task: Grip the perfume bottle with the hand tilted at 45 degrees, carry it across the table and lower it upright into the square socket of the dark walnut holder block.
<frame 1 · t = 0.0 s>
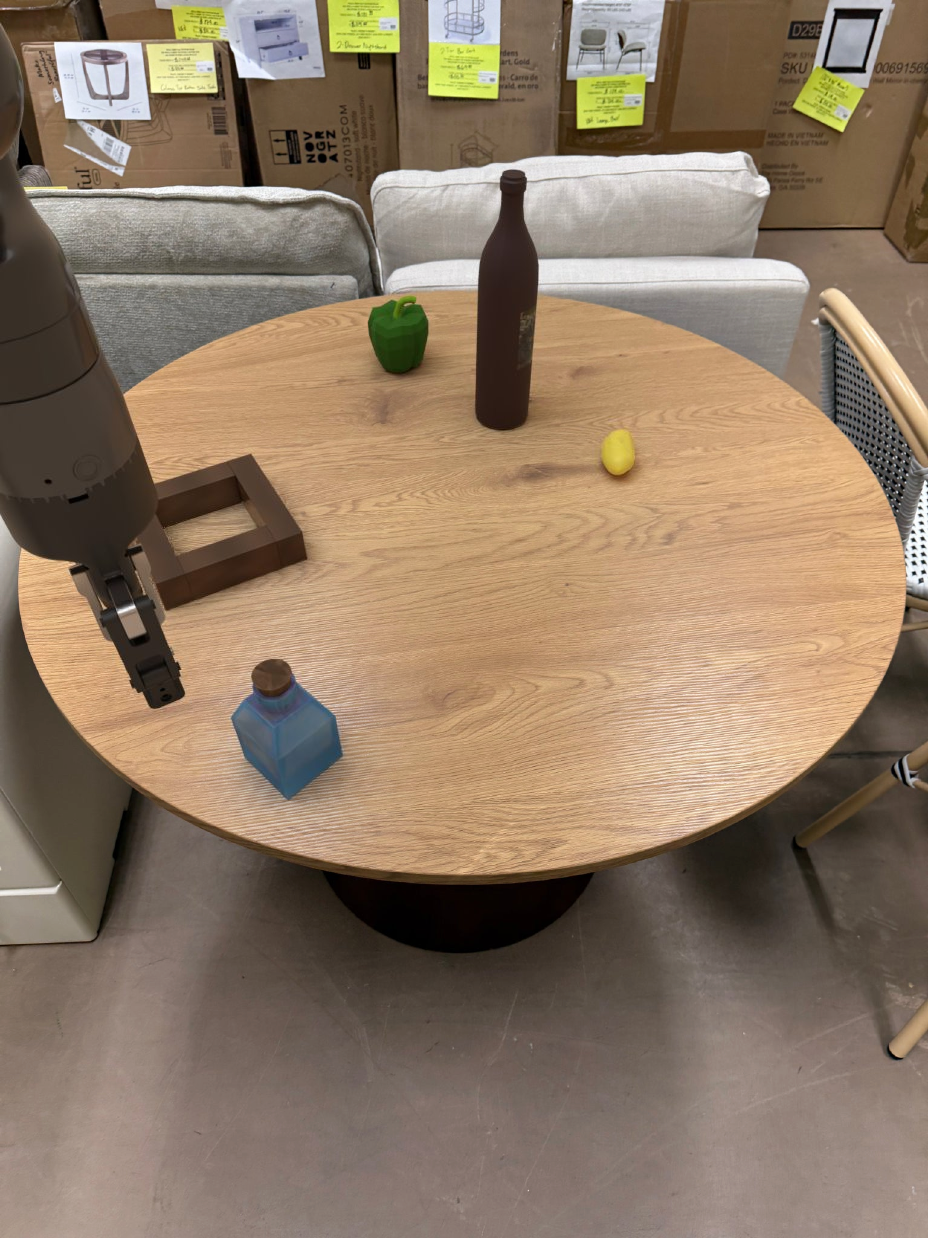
hand: (148, 653, 52), 22 cm above the table, tool pointing down, fingers open, 8 cm apart
holder: (215, 540, 92), on the table
wine bottle: (501, 416, 108), on the table
lemon: (615, 465, 102), on the table
perfume bottle: (294, 757, 73), on the table
bell pepper: (400, 365, 117), on the table
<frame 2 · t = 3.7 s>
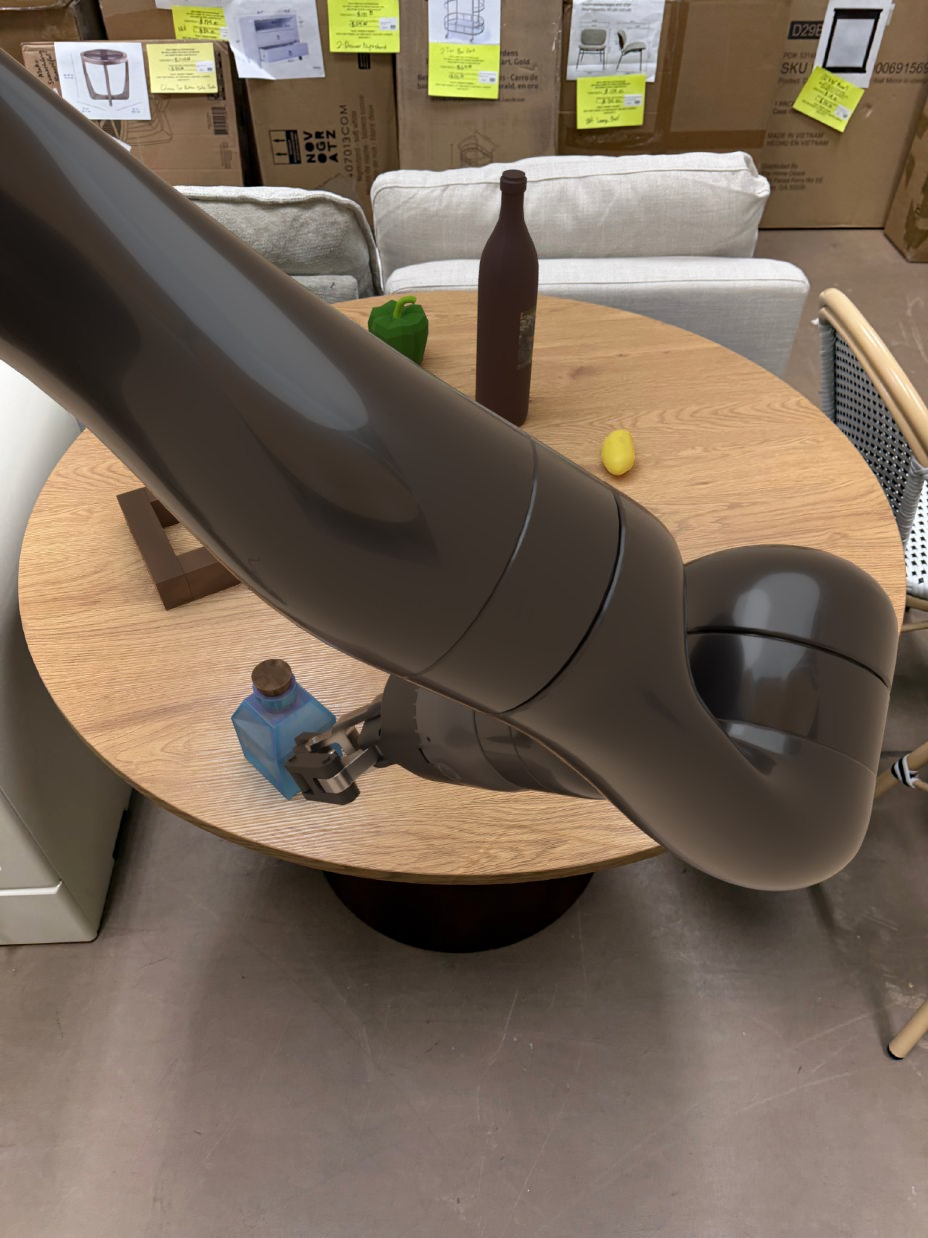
hand: (357, 710, 54), 18 cm above the table, tool tilted 45°, fingers open, 8 cm apart
nothing on the table moved.
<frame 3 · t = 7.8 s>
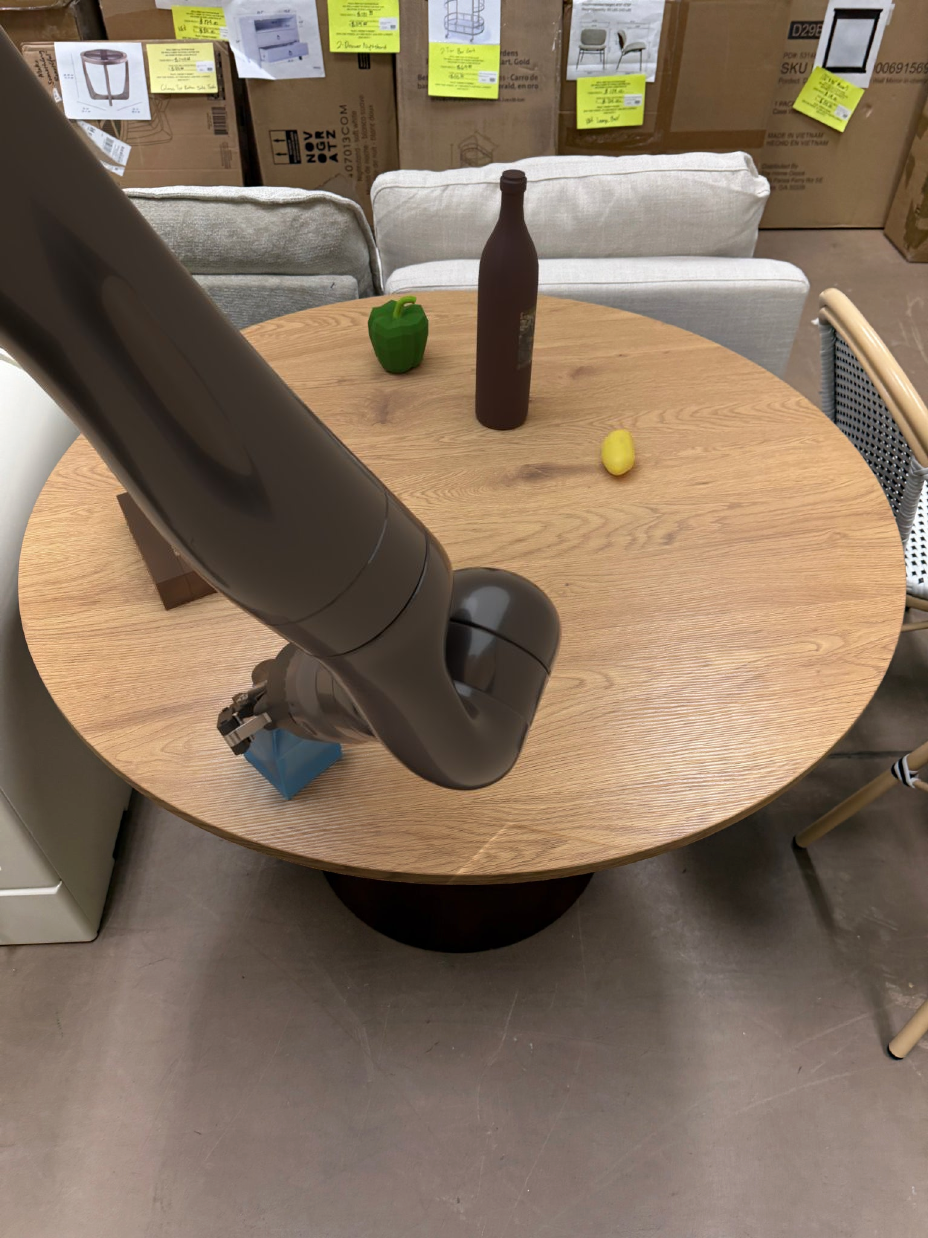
hand: (265, 690, 68), 8 cm above the table, tool tilted 45°, fingers closed on perfume bottle, 4 cm apart
perfume bottle: (294, 758, 73), on the table, touching gripper
everything else where it was.
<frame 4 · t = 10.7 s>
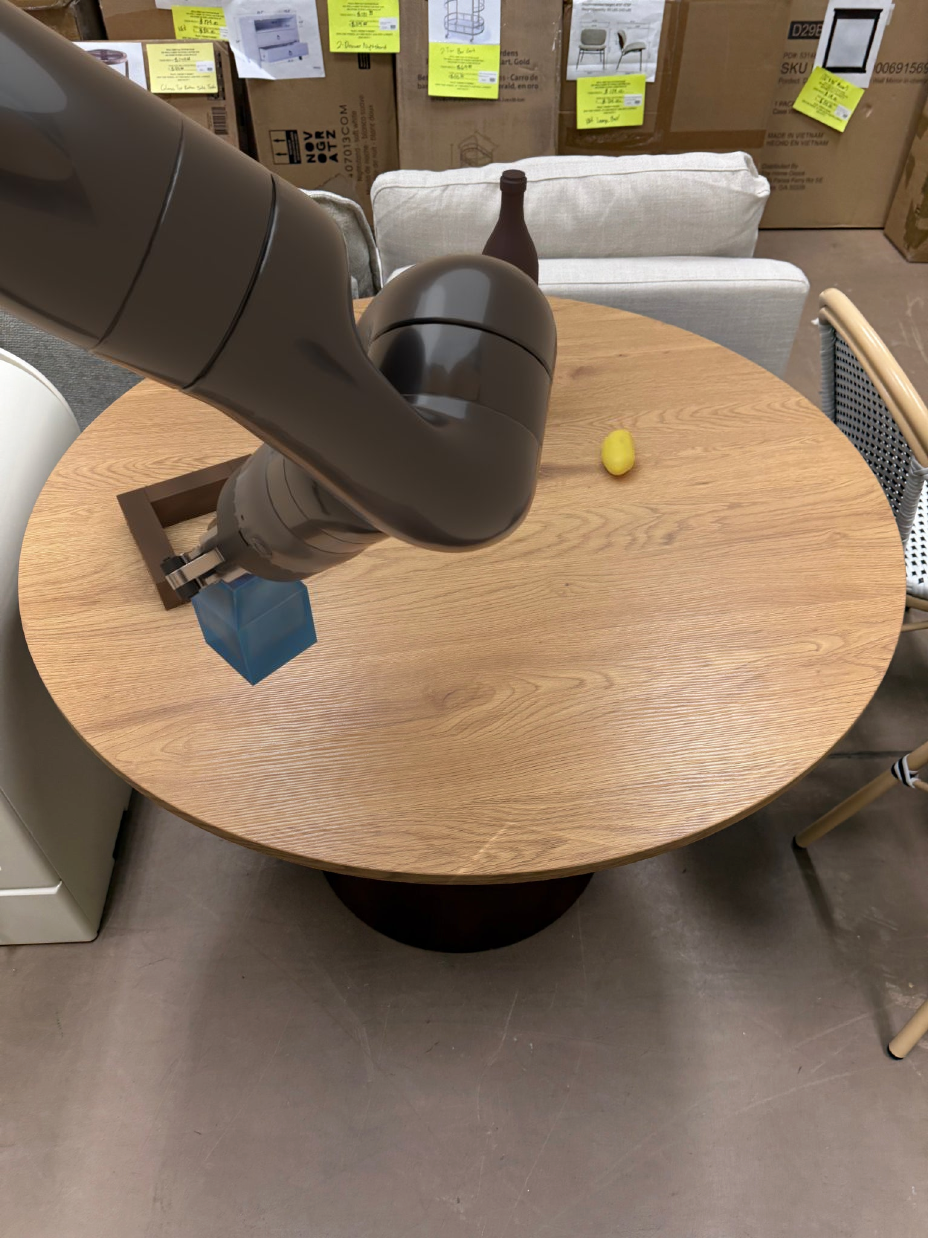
hand: (226, 555, 59), 22 cm above the table, tool tilted 45°, fingers closed on perfume bottle, 4 cm apart
perfume bottle: (262, 643, 64), point 13 cm above the table, touching gripper
everything else where it was.
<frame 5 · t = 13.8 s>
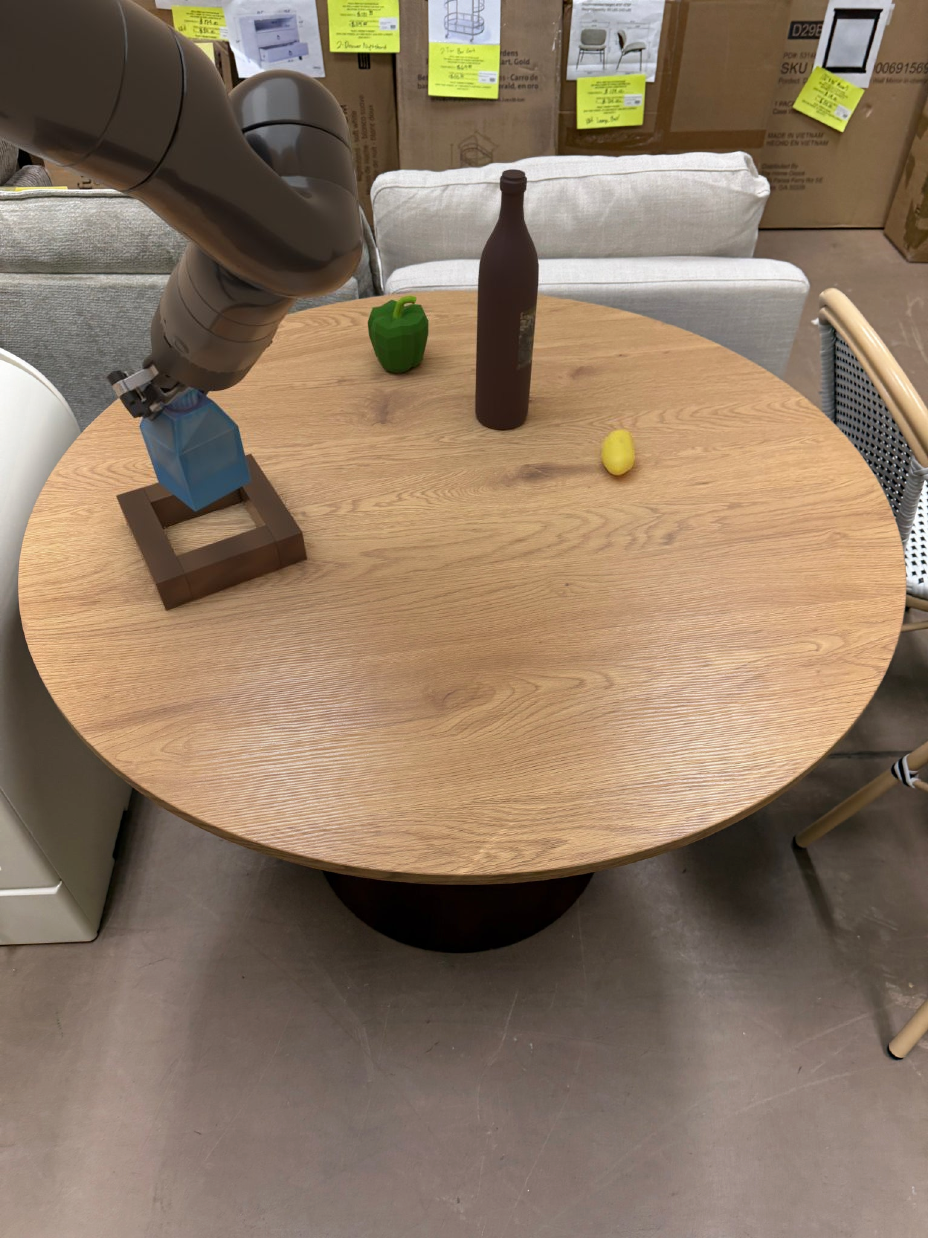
hand: (171, 398, 72), 22 cm above the table, tool tilted 45°, fingers closed on perfume bottle, 4 cm apart
perfume bottle: (205, 483, 77), point 14 cm above the table, touching gripper
everything else where it was.
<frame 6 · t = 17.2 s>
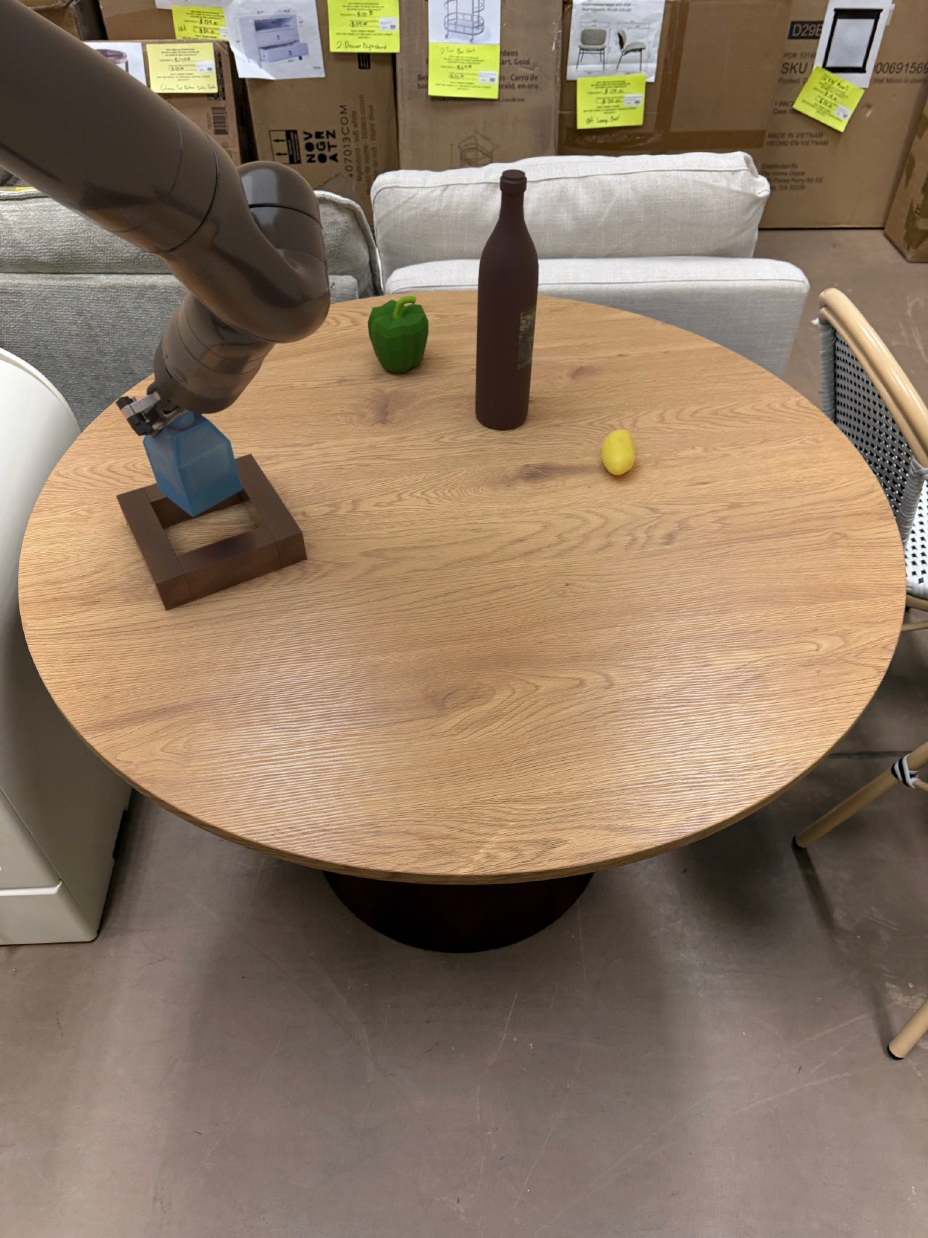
hand: (170, 417, 81), 15 cm above the table, tool tilted 45°, fingers closed on perfume bottle, 4 cm apart
perfume bottle: (201, 491, 86), point 7 cm above the table, touching gripper
everything else where it was.
when the fingers open (8 cm above the table, at t = 20.1 s): perfume bottle stays where it is, resting in holder.
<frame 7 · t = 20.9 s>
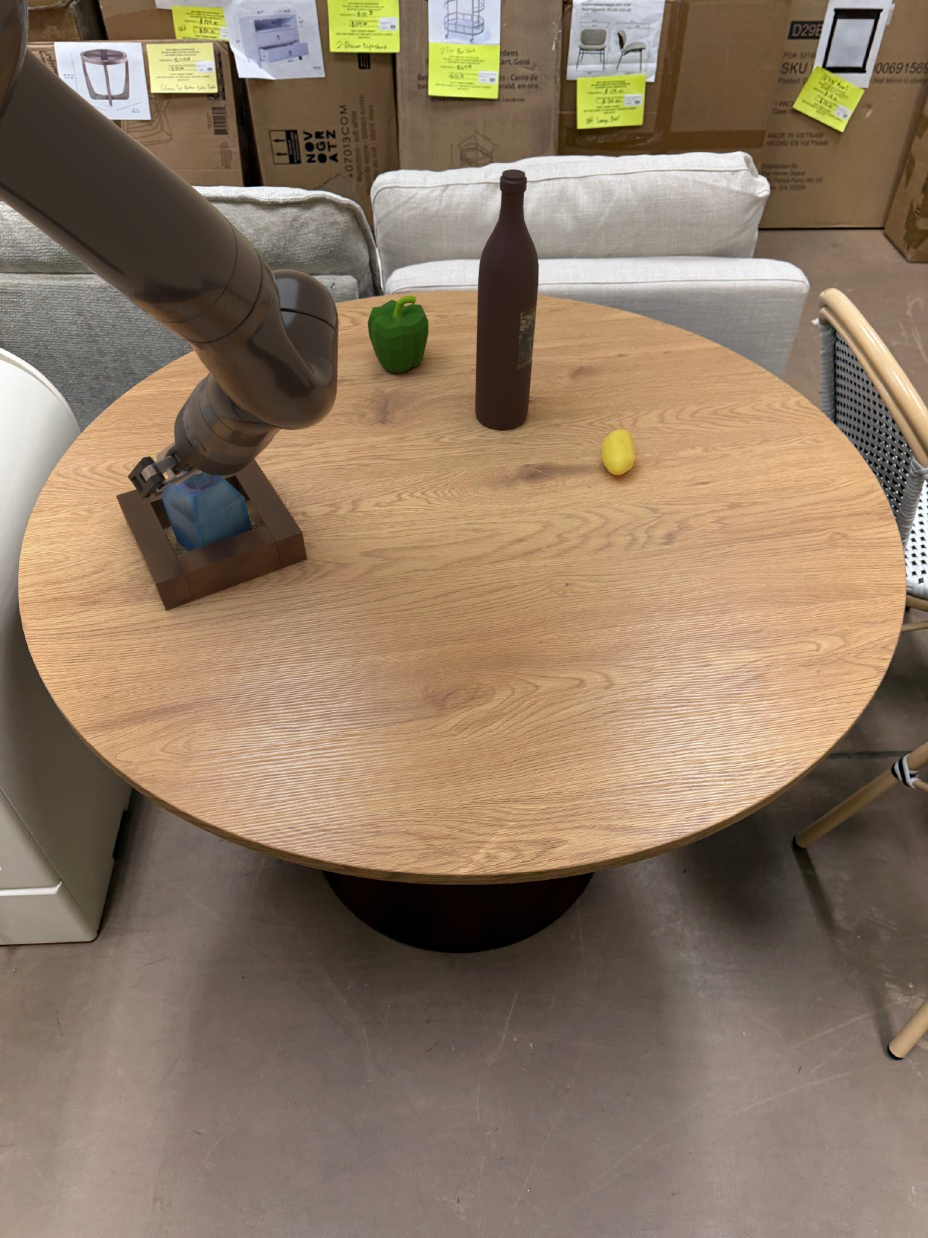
hand: (188, 468, 85), 9 cm above the table, tool tilted 45°, fingers open, 8 cm apart
perfume bottle: (216, 542, 92), resting in holder
everything else where it was.
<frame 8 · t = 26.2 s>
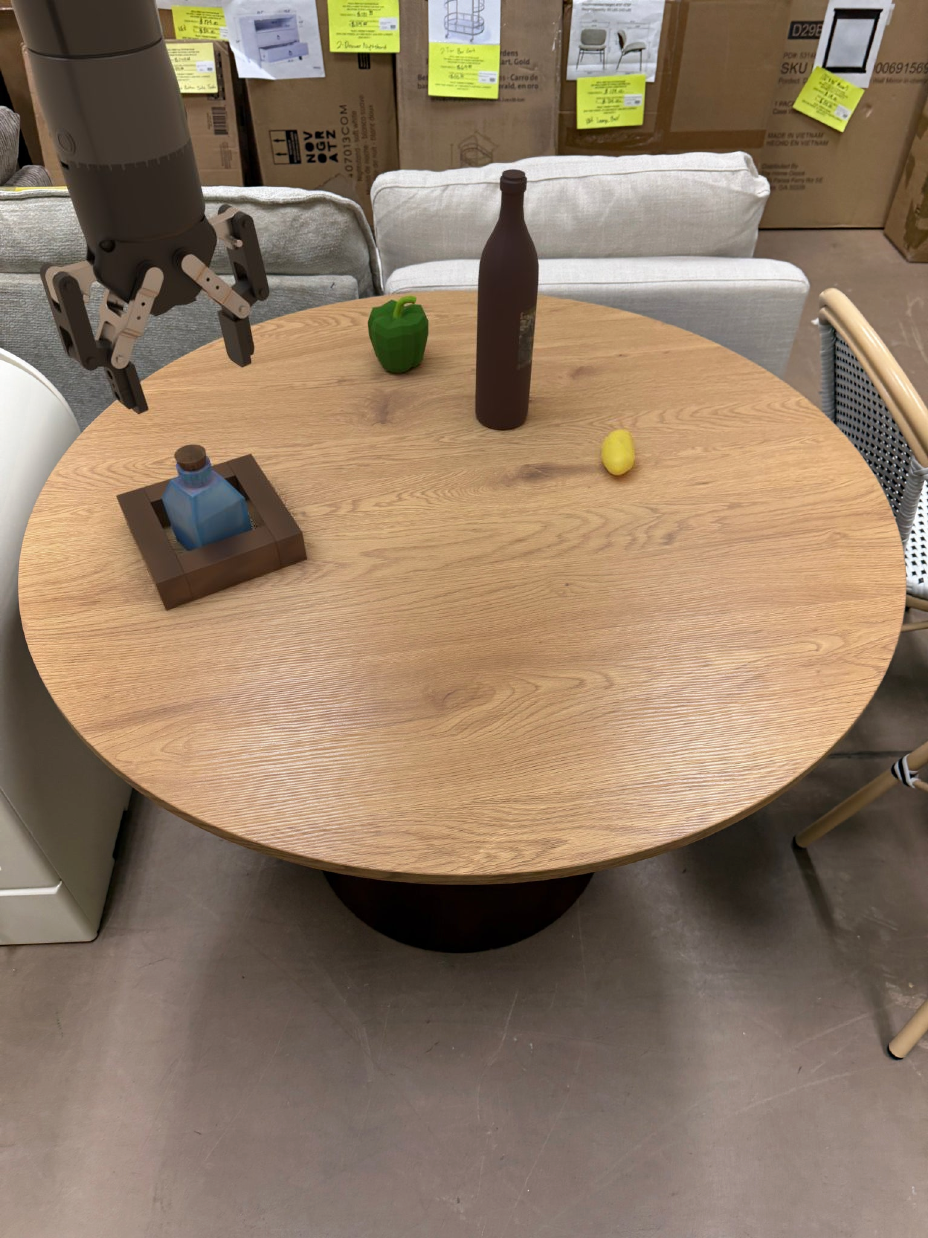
hand: (190, 384, 58), 30 cm above the table, tool pointing down, fingers open, 8 cm apart
nothing on the table moved.
at the end: perfume bottle 0.1 cm off-centre in the holder, point 0.0 cm above the holder's base; perfume bottle tilted 0° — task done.
